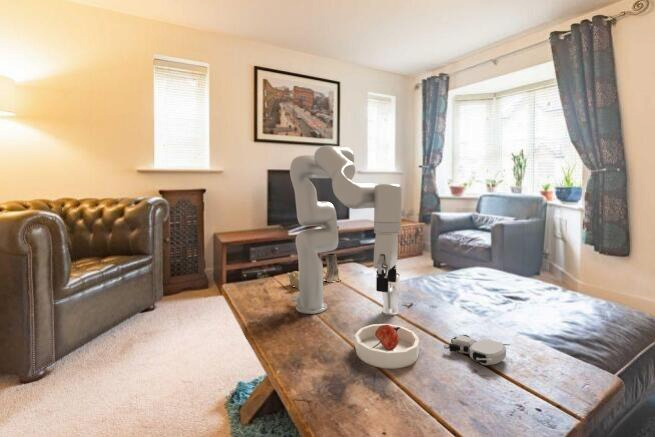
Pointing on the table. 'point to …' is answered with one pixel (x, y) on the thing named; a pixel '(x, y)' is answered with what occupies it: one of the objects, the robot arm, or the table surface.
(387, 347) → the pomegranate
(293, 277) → the cat figurine
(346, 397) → the table surface
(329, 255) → the tree stump
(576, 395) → the table surface
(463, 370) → the table surface
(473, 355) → the robot toy
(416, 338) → the fruit bowl
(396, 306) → the beer glass
